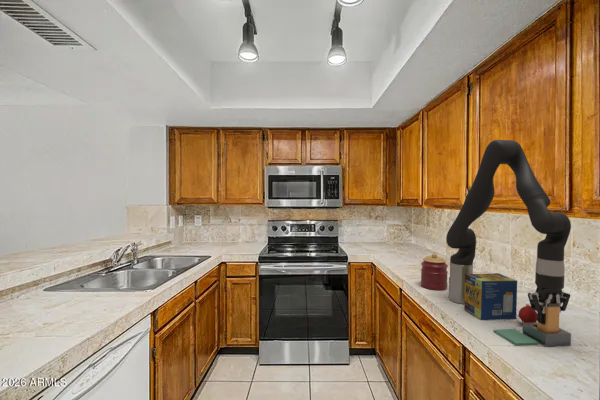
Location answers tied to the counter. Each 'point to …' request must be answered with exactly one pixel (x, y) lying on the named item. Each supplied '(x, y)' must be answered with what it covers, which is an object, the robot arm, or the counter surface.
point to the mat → (515, 337)
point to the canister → (434, 273)
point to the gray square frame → (547, 335)
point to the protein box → (490, 296)
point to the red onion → (527, 314)
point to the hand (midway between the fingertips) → (547, 323)
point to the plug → (550, 318)
